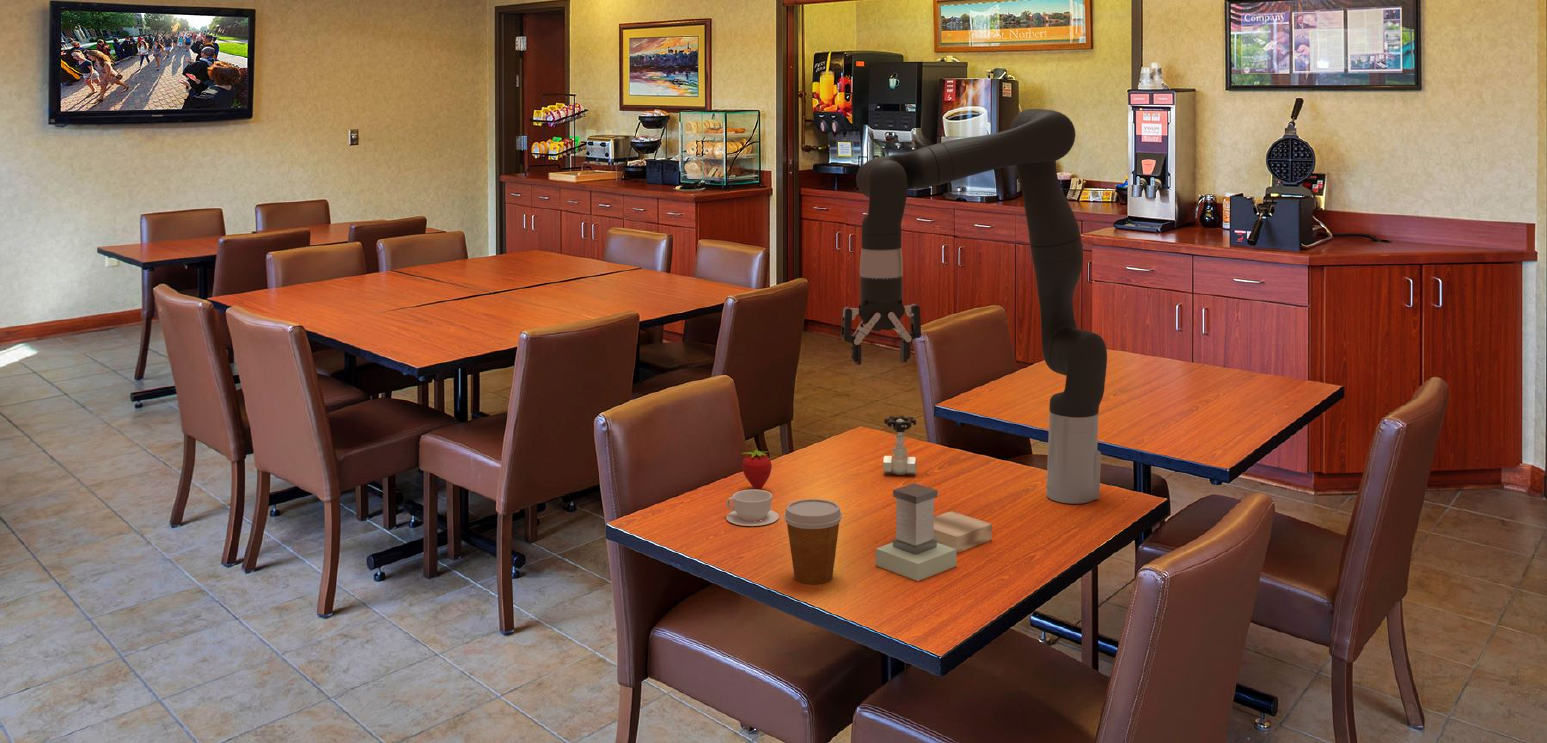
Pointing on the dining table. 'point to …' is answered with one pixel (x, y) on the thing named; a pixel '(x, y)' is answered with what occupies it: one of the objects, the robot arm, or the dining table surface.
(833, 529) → the disposable coffee cup
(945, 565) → the stand
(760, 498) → the teacup
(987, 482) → the dining table surface
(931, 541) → the grey square pillar
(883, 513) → the dining table surface
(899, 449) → the valve
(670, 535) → the dining table surface
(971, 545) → the stand
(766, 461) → the strawberry
